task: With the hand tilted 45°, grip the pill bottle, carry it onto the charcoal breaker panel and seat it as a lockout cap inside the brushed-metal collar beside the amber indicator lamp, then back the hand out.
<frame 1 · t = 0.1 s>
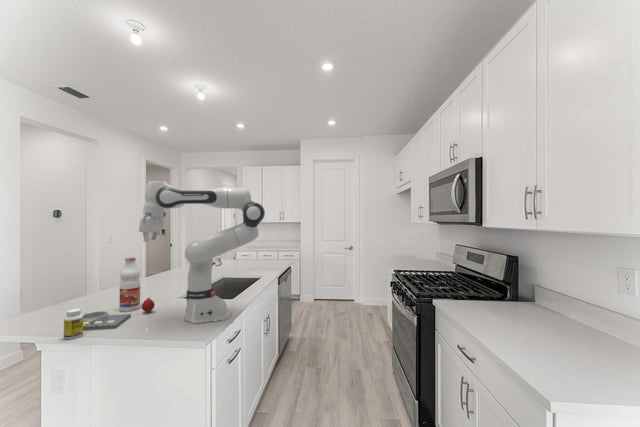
hand: (149, 240, 141), 39 cm above the worktop, tool pointing down, fingers open, 8 cm apart
breaker panel: (102, 323, 136), on the worktop
strawberry: (148, 313, 151), on the worktop
lockout collar: (94, 323, 136), resting on breaker panel
fruit juice: (129, 309, 157), on the worktop
pill bottle: (73, 337, 121), on the worktop
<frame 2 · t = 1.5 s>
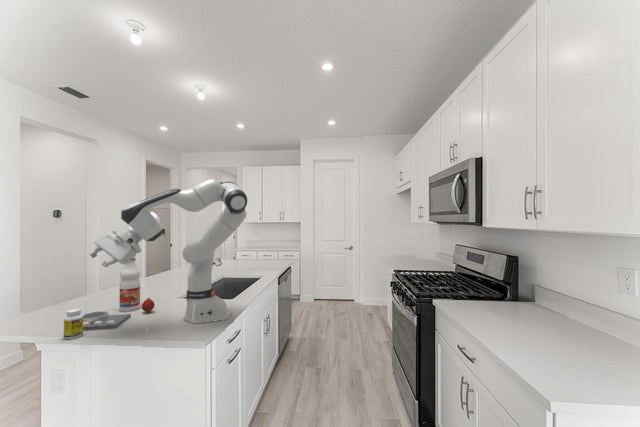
hand: (97, 261, 123), 32 cm above the worktop, tool tilted 50°, fingers open, 8 cm apart
nothing on the worktop moved.
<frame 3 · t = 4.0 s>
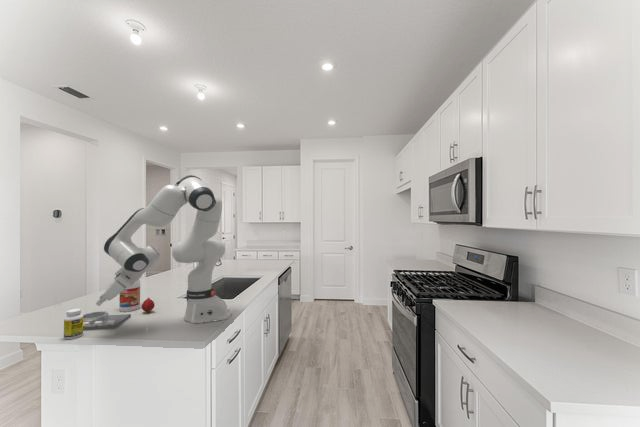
hand: (99, 301, 125), 14 cm above the worktop, tool tilted 45°, fingers open, 8 cm apart
nothing on the worktop moved.
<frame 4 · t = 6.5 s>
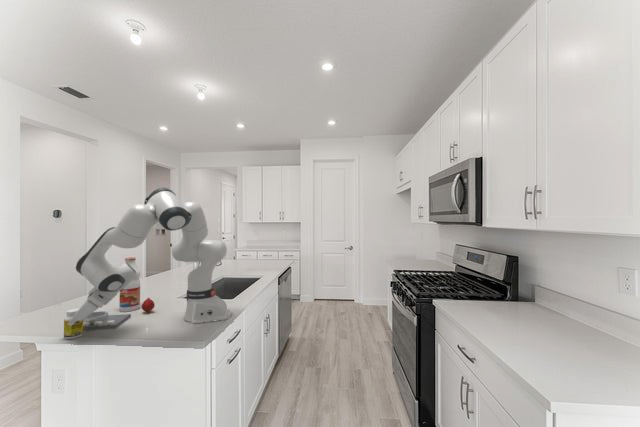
hand: (71, 321, 121), 6 cm above the worktop, tool tilted 45°, fingers closed on pill bottle, 6 cm apart
pill bottle: (73, 337, 121), on the worktop, touching gripper
everything else where it was.
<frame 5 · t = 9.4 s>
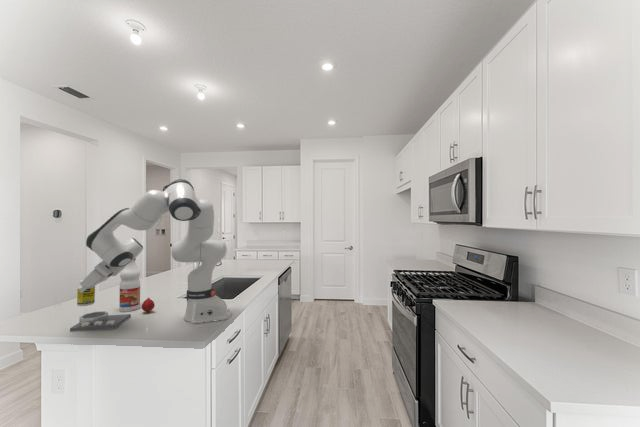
hand: (84, 289, 131), 17 cm above the worktop, tool tilted 45°, fingers closed on pill bottle, 6 cm apart
pill bottle: (85, 305, 130), point 10 cm above the worktop, touching gripper
everything else where it was.
when the fingers open (9 cm above the worktop, at t = 12.6 s): pill bottle stays where it is, resting on breaker panel.
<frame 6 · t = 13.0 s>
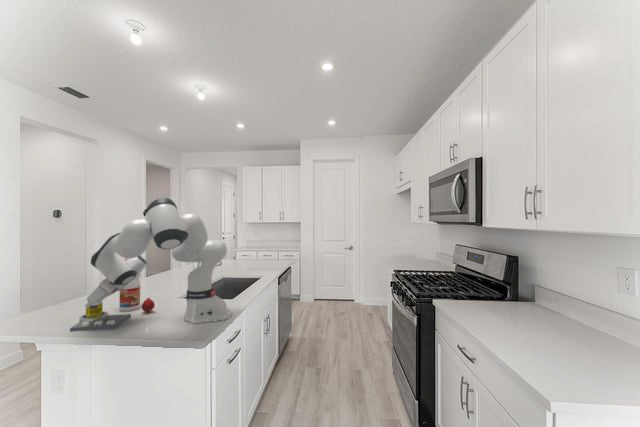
hand: (92, 303, 136), 9 cm above the worktop, tool tilted 45°, fingers open, 8 cm apart
pill bottle: (94, 320, 136), point 1 cm above the worktop, touching breaker panel
everything else where it was.
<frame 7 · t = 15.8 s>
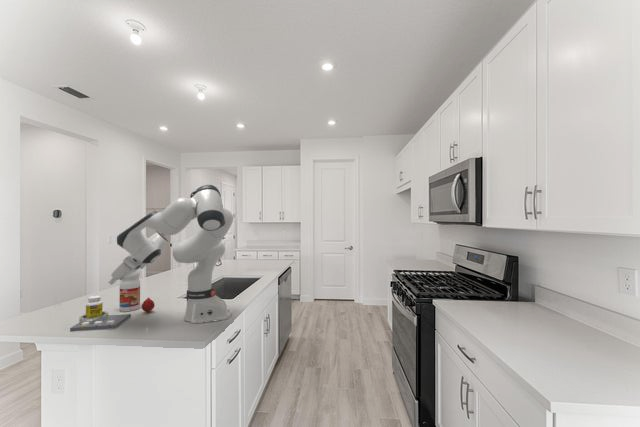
hand: (115, 281, 138), 20 cm above the worktop, tool tilted 45°, fingers open, 8 cm apart
nothing on the worktop moved.
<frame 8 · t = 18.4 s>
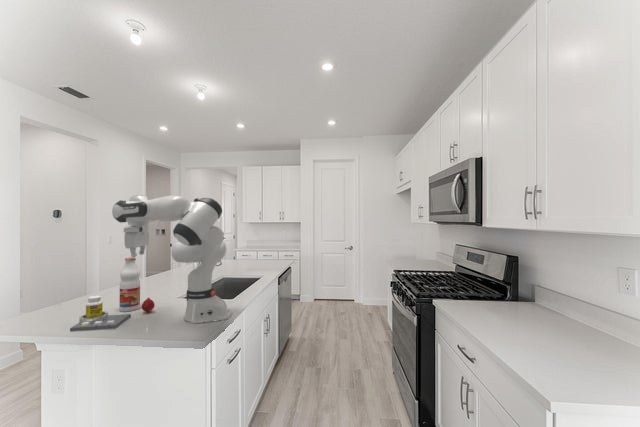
hand: (137, 255, 143), 31 cm above the worktop, tool pointing down, fingers open, 8 cm apart
nothing on the worktop moved.
at the end: pill bottle 0.0 cm off-centre on the lockout collar, point 1.3 cm above the lockout collar's base; pill bottle tilted 0°; the gripper is holding nothing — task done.
